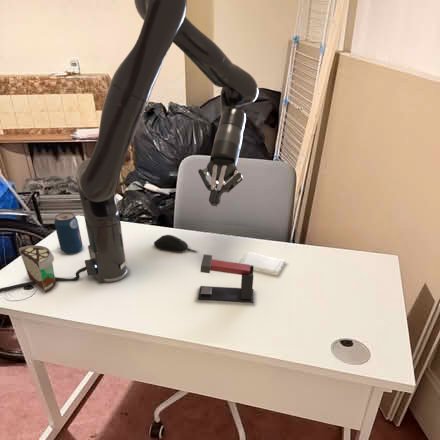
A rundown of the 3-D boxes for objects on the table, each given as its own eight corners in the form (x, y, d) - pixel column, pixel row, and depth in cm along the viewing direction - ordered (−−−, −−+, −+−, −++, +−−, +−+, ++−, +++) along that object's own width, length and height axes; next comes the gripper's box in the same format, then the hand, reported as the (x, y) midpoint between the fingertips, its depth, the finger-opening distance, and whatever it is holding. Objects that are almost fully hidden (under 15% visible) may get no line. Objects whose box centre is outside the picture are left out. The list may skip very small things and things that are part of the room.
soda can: (87, 249, 130) (80, 215, 123) (68, 257, 126) (60, 222, 119) (75, 243, 134) (68, 209, 127) (57, 250, 129) (48, 216, 123)
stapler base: (197, 301, 107) (197, 273, 102) (200, 289, 112) (200, 261, 107) (253, 304, 107) (255, 276, 101) (253, 292, 111) (255, 264, 106)
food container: (68, 286, 112) (60, 255, 107) (47, 294, 109) (39, 263, 103) (47, 270, 119) (39, 240, 114) (27, 277, 115) (17, 247, 110)
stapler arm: (200, 272, 102) (201, 265, 101) (202, 260, 107) (203, 254, 106) (249, 279, 102) (250, 272, 101) (249, 267, 107) (250, 260, 106)
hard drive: (239, 263, 122) (277, 271, 118) (248, 251, 128) (285, 259, 124) (238, 267, 123) (277, 276, 119) (247, 255, 129) (284, 264, 125)
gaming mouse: (191, 256, 128) (191, 245, 126) (150, 248, 132) (149, 237, 130) (199, 247, 133) (199, 237, 130) (159, 240, 137) (158, 229, 134)
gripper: (200, 137, 107) (186, 196, 105) (247, 140, 104) (233, 202, 102) (208, 151, 115) (195, 207, 112) (252, 154, 111) (239, 213, 109)
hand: (213, 205), depth 107 cm, fingers closed
